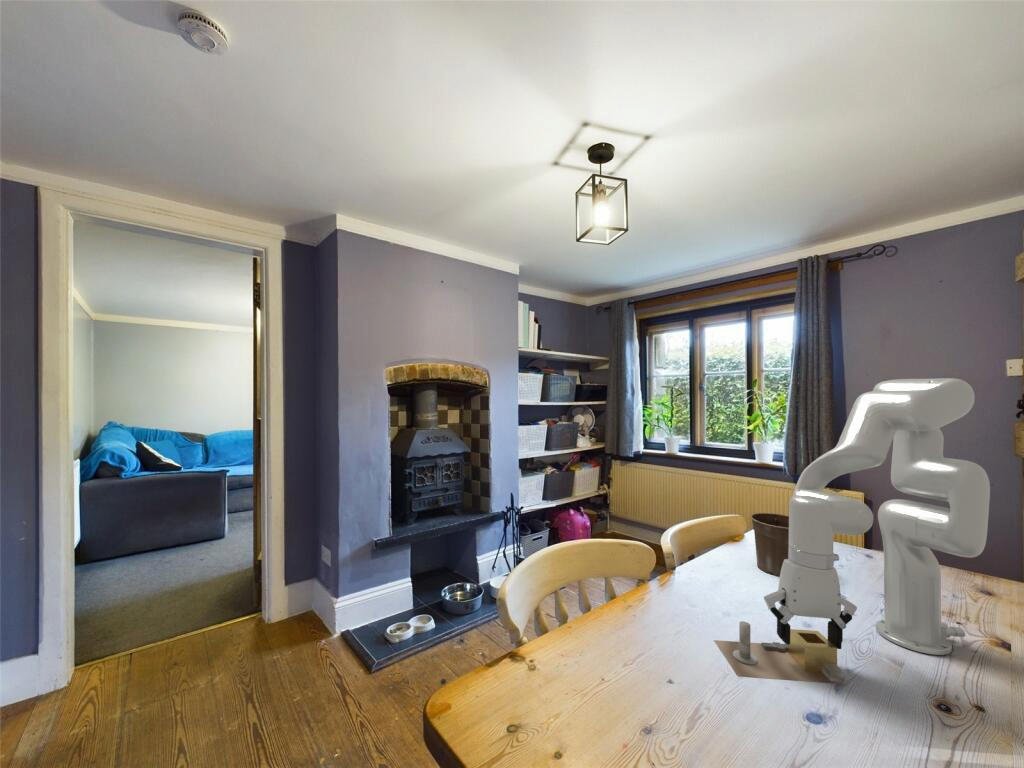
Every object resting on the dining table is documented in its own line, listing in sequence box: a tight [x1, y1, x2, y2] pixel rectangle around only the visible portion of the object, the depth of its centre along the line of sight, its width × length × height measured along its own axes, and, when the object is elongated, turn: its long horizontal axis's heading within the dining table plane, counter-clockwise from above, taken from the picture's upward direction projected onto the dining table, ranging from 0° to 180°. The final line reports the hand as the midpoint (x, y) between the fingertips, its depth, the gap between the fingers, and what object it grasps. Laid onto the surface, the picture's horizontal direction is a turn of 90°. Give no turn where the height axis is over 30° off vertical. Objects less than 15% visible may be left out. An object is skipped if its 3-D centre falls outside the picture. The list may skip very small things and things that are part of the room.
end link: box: [788, 628, 838, 673], centre depth 86 cm, size 6×6×5 cm
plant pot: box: [749, 512, 789, 577], centre depth 135 cm, size 16×16×16 cm
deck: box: [713, 620, 848, 685], centre depth 86 cm, size 20×12×8 cm, turn 85°
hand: (809, 642), depth 85 cm, fingers open, 9 cm apart
